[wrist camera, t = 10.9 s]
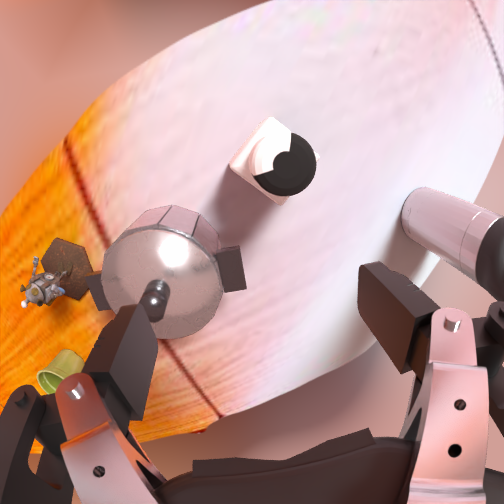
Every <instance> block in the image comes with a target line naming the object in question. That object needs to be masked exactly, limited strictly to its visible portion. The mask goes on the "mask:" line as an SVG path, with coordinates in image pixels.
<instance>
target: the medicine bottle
mask: <svg viewBox="0 0 504 504" xmlns="http://www.w3.org/2000/svg"><path fill="white" fill-rule="evenodd" d="M319 158H320V157H319V155H318V154H317V153H316V152H315V151H313V149H312V147H311V146H310V144H309V143H308V142H307V141H306V140H305V139H304V138H302V137H301V136H299V135H297V134H294V133H292V132H291V131H289V130H288V129H287V128H286V127H284V126H283V125H282V124H281V123H279V122H278V121H277V120H275V119H274V118H273V117H268V118H267V119H265V120H263V121H262V122H260V123H259V125H258V126H257V127H256V128H255V130H254V131H253V132H252V133H251V135H250V136H249V137H248V138H247V140H246V141H245V142H244V143H243V145H242V146H241V147H240V148H239V150H238V151H237V152H236V154H235V155H234V156H233V157H232V159H231V160H230V161H229V166H230V169H231V170H232V171H234V172H235V173H236V174H238V175H239V176H241V177H242V178H243V179H245V180H246V181H247V182H249V183H250V184H252V185H253V186H254V187H256V188H257V189H258V190H260V191H261V192H262V193H264V194H265V195H266V196H268V197H269V198H270V199H272V200H273V201H274V202H276V203H277V204H278V205H283V204H284V203H285V201H286V200H287V199H288V198H289V196H292V195H295V194H298V193H300V192H301V191H303V190H304V189H305V188H306V187H307V186H308V185H309V184H310V183H311V181H312V179H313V178H314V175H315V171H316V162H317V161H318V160H319Z"/></svg>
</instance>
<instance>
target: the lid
mask: <svg viewBox="0 0 504 504" xmlns="http://www.w3.org/2000/svg"><path fill="white" fill-rule="evenodd" d="M102 285H103V290H104V294H105V297H106V299H107V301H108V303H109V305H110V307H111V309H112V310H113V311H114V313H115V314H116V315H117V313H118V311H119V309H120V307H121V306H124V305H131V304H139V303H140V304H142V305H143V307H144V308H145V311H146V313H147V316H148V318H149V321H150V323H151V326H152V328H153V331H154V333H155V336H156V338H160V339H177V338H182V337H186V336H189V335H191V334H193V333H195V332H197V331H199V330H200V329H202V328H203V327H204V326H205V325H206V324H207V323H208V322H209V321H210V320H211V318H212V317H213V315H214V313H215V311H216V309H217V306H218V303H219V297H220V283H219V277H218V273H217V270H216V268H215V266H214V263H213V262H212V260H211V258H210V257H209V255H208V254H207V253H206V252H205V251H204V249H202V248H201V247H200V246H199V245H198V244H197V243H196V242H194V241H193V240H192V239H190V238H188V237H186V236H185V235H182V234H180V233H178V232H175V231H171V230H167V229H159V228H151V229H143V230H140V231H136V232H134V233H132V234H129V235H128V236H126V237H125V238H123V239H122V240H121V241H120V242H119V243H117V245H116V246H115V247H114V248H113V249H112V250H111V252H110V253H109V255H108V257H107V258H106V261H105V263H104V267H103V272H102Z"/></svg>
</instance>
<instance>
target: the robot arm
mask: <svg viewBox="0 0 504 504" xmlns="http://www.w3.org/2000/svg"><path fill="white" fill-rule="evenodd" d="M401 219H402V226H403V229H404V232H405V233H406V235H407V236H408V237H409V238H411V239H412V240H414V241H416V242H417V243H419V244H420V245H422V246H423V247H425V248H426V249H428V250H429V251H431V252H433V253H434V254H436V255H437V256H439V257H440V258H442V259H443V260H445V261H446V262H448V263H449V264H451V265H452V266H453V267H455V268H457V269H458V270H459V271H461V272H462V273H463V274H465V275H466V276H468V277H469V278H471V279H472V280H473V281H475V282H476V283H477V284H479V285H480V286H481V287H483V288H484V289H485V290H487V291H488V292H489V293H490V294H491V295H492V296H493V297H494V298H495V299H496V300H497V302H494V303H492V304H491V305H490V307H489V310H488V313H487V316H486V317H481V318H474V319H471V318H470V316H469V315H468V314H467V313H465V312H464V311H462V310H460V309H457V308H452V307H445V308H440V307H439V306H438V305H437V304H436V303H434V301H433V300H432V299H430V298H429V297H428V296H427V295H426V294H425V293H424V292H423V291H421V290H419V288H418V287H417V286H416V285H415V284H414V285H413V283H412V282H411V281H410V280H409V279H408V278H407V277H406V276H404V275H402V274H399V273H397V272H395V271H391V270H389V269H388V268H387V267H386V266H385V265H384V264H383V263H381V262H380V261H378V262H373V263H368V264H364V265H361V266H360V267H359V274H358V299H357V304H358V310H359V313H360V315H361V317H362V319H363V320H364V321H365V323H366V324H367V326H368V327H369V328H370V330H371V331H372V333H373V334H374V336H375V337H376V338H377V340H378V341H379V343H380V344H381V346H382V347H383V348H384V350H385V352H386V353H387V354H388V356H389V357H390V359H391V360H392V362H393V363H394V365H395V366H396V368H397V369H398V371H399V372H400V374H403V373H406V372H408V371H411V370H413V371H414V372H415V376H414V379H413V384H412V389H411V394H410V399H409V403H408V408H407V412H406V417H405V420H404V424H403V427H402V430H401V432H400V435H399V437H398V438H397V437H373V436H372V434H371V432H370V430H369V428H366V429H364V430H360V431H357V432H354V433H351V434H348V435H345V436H341V437H338V438H335V439H331V440H328V441H326V442H324V443H322V444H320V445H318V446H316V447H314V448H311V449H309V450H307V451H305V452H303V453H301V454H298V455H296V456H294V457H292V458H289V459H287V460H280V461H278V460H260V459H259V460H258V459H246V458H236V457H235V458H224V459H209V460H193V471H190V472H187V473H184V474H181V475H179V476H177V477H174V478H172V479H170V480H168V481H167V480H166V479H165V477H164V476H163V475H162V474H161V473H160V472H159V471H158V470H157V468H156V467H155V466H154V465H153V463H152V462H151V460H150V459H149V457H148V456H147V454H146V453H145V452H144V450H143V449H142V447H141V445H140V444H139V442H138V441H137V439H136V438H135V436H134V435H133V433H132V431H131V430H130V429H129V428H128V426H129V422H130V420H136V421H142V419H143V415H144V410H145V405H146V400H147V396H148V391H149V387H150V382H151V378H152V374H153V370H154V365H155V361H156V357H157V353H158V343H157V338H156V336H155V333H154V331H153V328H152V326H151V323H150V321H149V318H148V316H147V313H146V311H145V308H144V307H143V305H142V304H140V303H139V304H131V305H124V306H121V307H120V309H119V311H118V313H117V315H116V317H115V319H114V320H111V321H110V322H109V323H108V324H107V325H106V326H105V327H104V328H103V329H102V331H101V333H100V335H99V337H98V340H97V341H96V343H95V344H94V348H92V350H91V352H90V354H89V356H88V358H87V360H86V362H85V364H84V367H83V369H82V371H81V373H75V374H72V375H69V376H68V377H66V378H65V379H63V380H62V381H61V382H60V384H59V385H58V387H57V389H56V392H55V393H52V394H47V395H43V396H41V395H40V394H39V393H38V391H37V390H36V389H35V388H34V387H33V386H32V385H23V386H21V387H19V388H17V389H16V390H15V391H14V392H13V393H12V394H11V395H10V397H9V399H8V401H7V403H6V405H5V407H4V409H3V411H2V413H1V415H0V504H71V502H72V496H73V489H74V487H75V490H76V492H77V494H78V496H79V498H80V501H81V503H82V504H504V473H503V472H499V471H495V470H492V469H489V468H485V463H486V455H487V443H488V427H489V414H490V416H491V417H492V419H493V420H494V422H495V423H496V425H497V427H498V428H499V430H500V432H501V434H502V435H503V437H504V367H503V366H502V364H503V362H504V216H502V215H499V214H497V213H495V212H492V211H490V210H487V209H485V208H482V207H480V206H478V205H475V204H472V203H470V202H467V201H465V200H462V199H459V198H457V197H454V196H451V195H448V194H445V193H443V192H440V191H437V190H434V189H431V188H427V187H421V188H418V189H416V190H415V191H413V192H412V193H411V194H410V195H409V196H408V198H407V199H406V201H405V204H404V206H403V210H402V217H401ZM34 438H35V439H36V440H37V441H38V442H39V443H41V444H42V445H43V446H44V448H43V451H42V454H41V458H40V462H39V465H38V469H37V473H36V475H35V474H34V473H32V471H31V470H30V468H29V465H28V456H29V453H30V450H31V447H32V444H33V441H34Z"/></svg>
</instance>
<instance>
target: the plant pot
mask: <svg viewBox="0 0 504 504" xmlns="http://www.w3.org/2000/svg"><path fill="white" fill-rule="evenodd" d="M84 364H85V363H84V361H83V359H82V358H81V357H80V356H78V355H77V354H76V353H75V352H74V351H72V350H68V349H63V350H62V351H60V353H59V354H58V355H57V356H56V357H55V358H54V359H53V361H52V362H51V363H50V364H49V365H48V366H47V367H46V368H44V369H43V370H40V371H39V372H38V373H37V380H38V383H39V384H40V386H41V387H42V389H43V390H44V391H45V392H46V393H47V394H52V393H55V392H56V389H57V387H58V385H59V384H60V382H61V381H62V380H63V379H65V378H66V377H68V376H69V375H72V374H75V373H81V371H82V369H83V367H84Z"/></svg>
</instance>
